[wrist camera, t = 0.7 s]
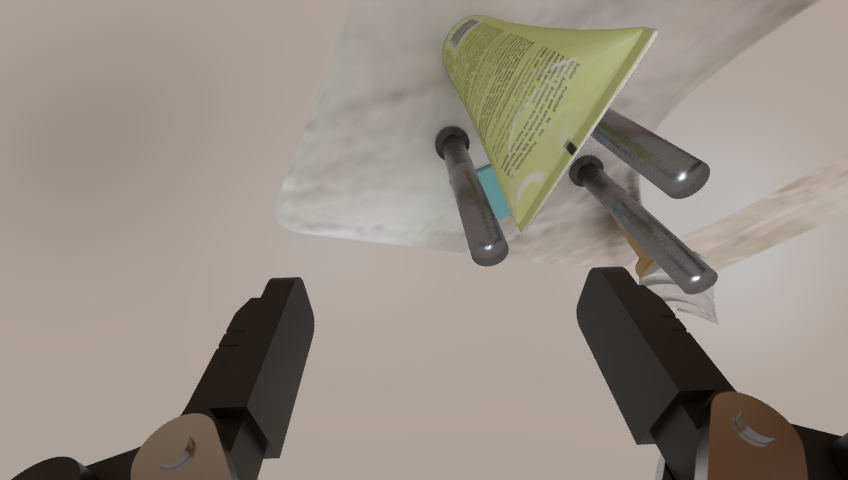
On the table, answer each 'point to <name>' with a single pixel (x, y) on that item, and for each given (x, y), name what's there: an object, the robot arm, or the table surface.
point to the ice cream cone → (671, 284)
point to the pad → (493, 192)
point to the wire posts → (595, 195)
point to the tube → (537, 96)
